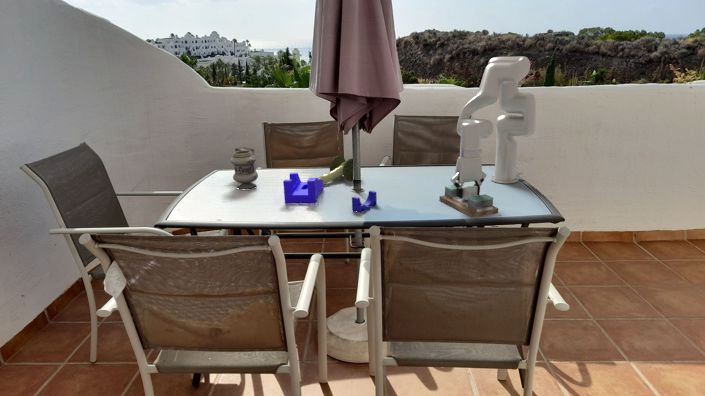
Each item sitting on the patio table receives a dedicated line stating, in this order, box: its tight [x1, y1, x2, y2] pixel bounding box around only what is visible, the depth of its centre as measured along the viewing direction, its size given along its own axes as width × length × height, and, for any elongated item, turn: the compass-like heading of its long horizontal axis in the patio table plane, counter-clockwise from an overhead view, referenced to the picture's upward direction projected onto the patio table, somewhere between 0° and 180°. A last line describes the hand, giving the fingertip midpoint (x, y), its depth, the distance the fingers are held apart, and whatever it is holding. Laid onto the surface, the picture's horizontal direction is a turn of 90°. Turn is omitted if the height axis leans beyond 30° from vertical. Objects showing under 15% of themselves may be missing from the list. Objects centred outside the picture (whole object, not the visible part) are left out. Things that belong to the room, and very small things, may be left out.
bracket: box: [282, 172, 324, 204], centre depth 212 cm, size 21×14×10 cm, turn 174°
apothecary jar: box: [230, 150, 259, 190], centre depth 228 cm, size 12×12×18 cm
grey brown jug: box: [234, 146, 257, 172], centre depth 245 cm, size 9×6×16 cm
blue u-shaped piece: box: [351, 190, 378, 213], centre depth 194 cm, size 12×4×6 cm, turn 137°
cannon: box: [317, 155, 354, 186], centre depth 235 cm, size 25×12×11 cm, turn 133°
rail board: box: [439, 184, 499, 219], centre depth 191 cm, size 12×24×6 cm, turn 21°
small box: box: [459, 183, 478, 200], centre depth 190 cm, size 6×6×5 cm
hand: (468, 195), depth 190 cm, fingers closed on small box, 7 cm apart
